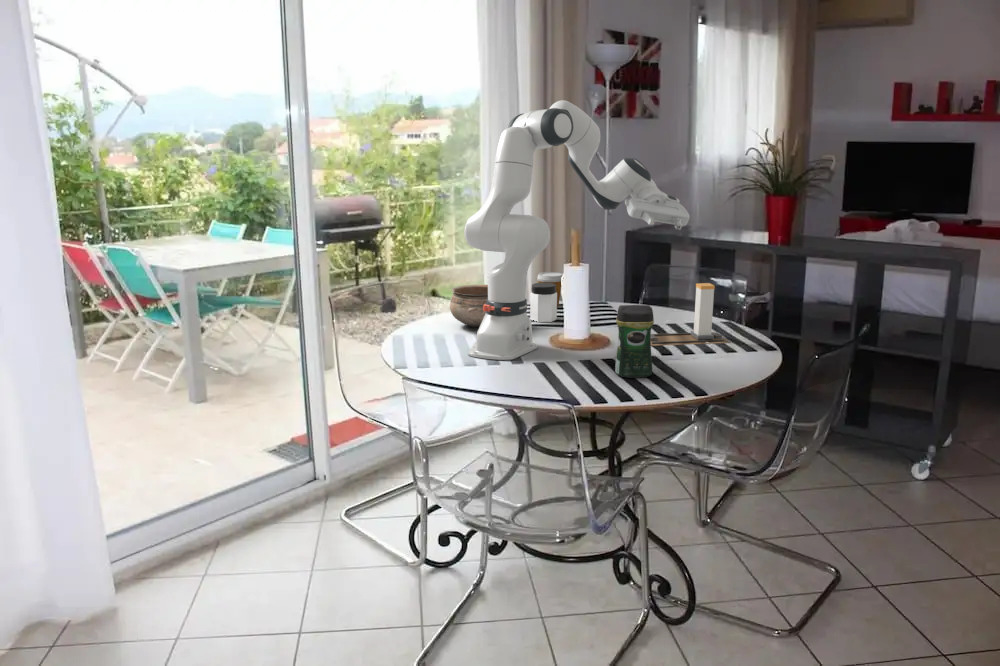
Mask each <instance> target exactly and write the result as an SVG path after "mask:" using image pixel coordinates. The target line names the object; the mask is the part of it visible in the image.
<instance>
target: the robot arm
mask: <svg viewBox="0 0 1000 666" xmlns="http://www.w3.org/2000/svg"><path fill="white" fill-rule="evenodd" d="M600 130H601V129H600V127H599V126H598V124H597V123H596V121H594V120H593V118H591V117H590V116H589V115H588V114H587V113H586V112H585V111H584V110H583V109H581V108H580V107H578V106H577V105H576V104H573V103H572V102H570V101H568V100H564V99H561V100H557V101H556V102H554V103H552V105H551V106H549V108H546V109H535V110H534V109H533V110H531V111H527V112H525V113H519V114H518V115H516V116H514V117H513V118H512V119H511V120H510V121H509V123H508V126H507V128H505V129H503V131H502V132H501V134H500V137H499V140H498V144H497V147H496V151H495V158H494V166H493V173H492V182H491V187H490V191H489V193H488V196H487V198H486V200H485V202H484V203H483V205H482V206H481V207H480V208H479V210H477V212H475V213H474V214H472V215H471V216H470V217H468V219H467V221H466V223H465V225H464V231H463V232H464V233H463V234H464V239H465V240H466V243H467V244H468V246H469V247H471V248H474V249H476V250H481V251H484V252H493V253H494V252H495V253H496V252H497V253H498V252H499V253H504V254H505V257H504V260H503V262H502V263H500V264H498V265H496V266H494V267H493V268H491V269H490V270H489V272H488V276H487V285H488V299H487V301H486V304H484V305H483V311H485V312H486V314H485V316H484V318H483V320H482V322H481V325H480V327H479V329H477V332H476V340H475V342H474V343H473V345H472V346H471V348H470V349H469V350H468V352H467V355H468V356H470V357H472V358H473V357H474V358H477V359H478V358H479V359H485V360H499V361H503V360H504V361H509V360H515V359H517V358H519V357H522V356H523V355H526V354H528V353H529V352H532V351H534V350H536V349H538V344H537V343H534V342H533V328H532V327H533V326H532V325H533V324H532V320H530V316H529V315H528V313H527V311H528V299H527V298H526V288H527V276H528V271H529V269H530V265H531V264H532V262H533V261H534V259H536V257H537V256H538V255H539V254H540V253H542V252H544V250H545V249H546V248H547V246H548V245H549V243H550V239H551V232H550V231H551V230H550V227H549V223H548V222H547V221H546V220H545V219H543V218H542V217H537V216H534V215H530V214H516V213H515V214H512V213H511V211H512V209H513V208H514V207H515V206H516V204H518V203H520V202H522V201H524V200H526V199H527V197H528V196H529V194H530V192H531V187H532V179H533V168H534V153H535V152H536V150H537V149H538V150H543V149H548V148H549V149H550V148H552V147H560V146H562V145H565V146H566V149H568V154H567V160H568V162H569V165H570V166H571V168H572V169H573V170H574V172H575V173H576V174H577V176H578V178H579V179H580V180H581V182H582V183H583V184H584V185H585V187H586V188H587V189H588V191H589V192H590V193H591V195H592V197H593V199H594V201H595V202H596V204H597V205H598V206H599V207H600V208H602V209H603V210H605V211H606V210H607V211H609V210H611V211H612V210H616V209H618V207H619V206H620V204H622V203H624V204H625V206H626V211H627V214H628V216H629V217H631V218H632V219H638V220H639V219H640V220H643V221H644V222H646V223H647V225H650V226H654V225H655V222H657V223H664V224H669V225H674V228H675V230H679V231H681V230H682V227H685V226H687V224H688V222H690V221H689V220H690V214H689V212H688V211H687V209H686V208H685V207H684V205H682V204H681V202H680V199H679V198H677V197H674V196H672V195H669V194H667V193H665V192H664V191H661V190H660V189H659V187H658V186H657V184H656V183H655V181H654V180H653V179H652V178H651V173H650V171H649V170H648V168H647V167H645V165H643V163H642V162H641V161H639V160H638V158H637V159H636V158H633V157H625V158H623V159H622V160H621V161H619V162H618V163H617V164H616V165H615V166H614V167H613V169H611V171H609V173H607V174H606V175H605V176H604V177H603V178H602V179H600V180H598V179H597V177H595V175H594V174H593V173H592V172H591V171H592V170H590V166H591V162H592V160H593V158H594V156H595V154H596V152H597V151H598V149H599V146H600V143H601V131H600ZM628 196H630V197H629V198H628Z"/></svg>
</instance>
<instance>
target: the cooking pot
mask: <svg viewBox="0 0 1000 666" xmlns="http://www.w3.org/2000/svg"><path fill="white" fill-rule="evenodd" d="M451 292H453V293H452V296H451V299H450V303H449V310H450V314H451V315H452V317H453V318H454V319H456V320H457V321H459V322H460V323H462V324H464V325H466V326H467V327H469V328H471V329H477V330H478V329H479V327H480V325H481V322H482V320H483V318H484V316H485V314H486V312H485V311H483V305H484V304H486V301H487V299H488V284H466V285H459V286H456V287H454V288H452V289H451Z"/></svg>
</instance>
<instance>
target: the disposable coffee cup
mask: <svg viewBox="0 0 1000 666" xmlns="http://www.w3.org/2000/svg"><path fill="white" fill-rule="evenodd" d="M562 276H563V273H561V272H553V271H544V272H539V273H538V275H537V277H536V279H537V281H538V282H537V283H552V284H555V285H556V292H557V307H558V306H559V305H560V298H561V292H562V291H561V290H562V285H561V277H562ZM558 308H559V307H558Z"/></svg>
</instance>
